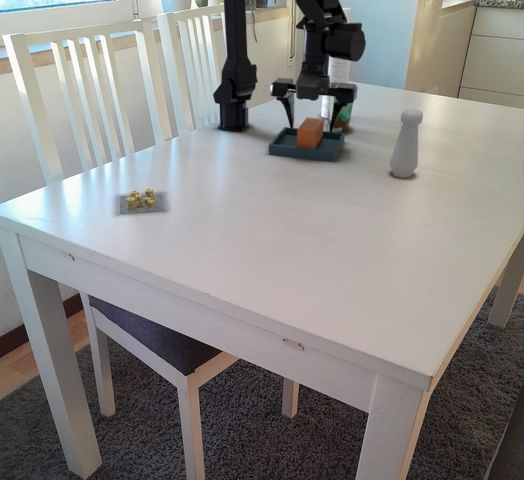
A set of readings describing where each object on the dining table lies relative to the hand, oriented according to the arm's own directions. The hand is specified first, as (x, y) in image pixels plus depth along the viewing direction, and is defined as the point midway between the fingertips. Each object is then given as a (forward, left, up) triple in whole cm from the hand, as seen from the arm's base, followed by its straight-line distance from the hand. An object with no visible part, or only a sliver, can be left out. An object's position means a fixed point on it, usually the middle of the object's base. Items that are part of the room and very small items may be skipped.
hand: (311, 130), depth 126 cm
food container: (+4, +17, -4) cm, 18 cm away
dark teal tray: (-1, 0, -4) cm, 4 cm away
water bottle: (0, +29, -4) cm, 29 cm away
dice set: (-24, -41, -4) cm, 48 cm away
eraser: (0, 0, -4) cm, 4 cm away
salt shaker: (+22, -10, -4) cm, 25 cm away
